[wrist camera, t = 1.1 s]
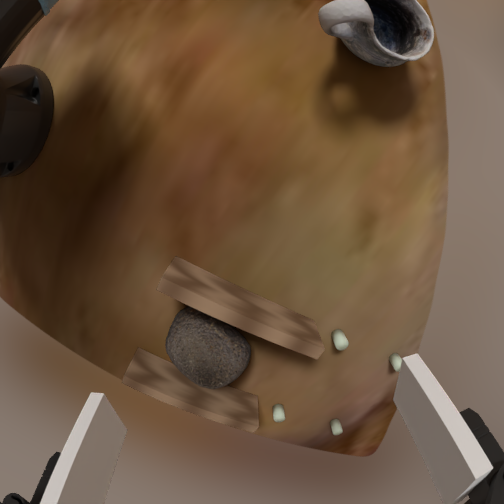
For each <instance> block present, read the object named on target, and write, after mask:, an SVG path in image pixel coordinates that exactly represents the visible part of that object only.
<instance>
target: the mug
mask: <svg viewBox="0 0 504 504" xmlns="http://www.w3.org/2000/svg"><path fill="white" fill-rule="evenodd" d="M318 15H319V21H320V24H321V27H322V29H323V30H324V31H325V33H327V34H328V35H331V36H335V37H338V38H341V40H342V42H343V43H344V44H345V45H346V46H347V48H348V49H349V50H350V51H351V52H352V53H353V54H355V55H356V56H357V57H359V58H361V59H362V60H364V61H367V62H368V63H371V64H374V65H377V66H383V67H392V66H398V65H401V64H403V63H405V62H406V61H415V60H418V59H419V58H421V57H423V56H424V55H425V54H427V53H428V52H429V51H430V49H431V46H432V43H433V40H434V29H433V26H432V25H431V21H430V19H429V17H428V15H427V13H426V12H425V10H424V9H423V8H422V6H421V5H420V4H419V3H418V2H417V1H416V0H336V1H332V2H330V3H328V4H326V5H325V6H323V7H322V8H321V9H320V10H319V14H318Z"/></svg>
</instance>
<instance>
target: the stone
mask: <svg viewBox="0 0 504 504" xmlns="http://www.w3.org/2000/svg"><path fill="white" fill-rule="evenodd" d="M166 351H167V354H168V355H169V357H170V359H171V361H172V362H173V364H174V365H175V366H176V367H177V369H178V370H179V371H180V372H181V373H182V374H183V375H185V376H186V377H187V378H188V379H189V380H191V381H192V382H194V383H195V384H197V385H199V386H200V387H204V388H209V389H217V388H221V387H224V386H226V385H228V384H230V383H231V382H233V381H234V380H236V379H237V378H238V377H239V376H240V375H241V374H242V373H243V371H244V370H245V369H246V367H247V365H248V363H249V359H250V355H251V348H250V345H249V344H248V342H247V341H246V339H245V338H244V337H243V336H242V335H241V334H240V333H239V332H238V331H237V330H236V329H235V328H234V327H233V326H231V325H230V324H228V323H226V322H223V321H221V320H219V319H217V318H214V317H212V316H210V315H208V314H206V313H203V312H201V311H199V310H197V309H195V308H193V307H190V306H189V307H186V308H184V309H183V310H181V311H180V312H179V313H178V314H177V315H176V317H175V318H174V321H173V323H172V325H171V327H170V329H169V332H168V336H167V338H166Z"/></svg>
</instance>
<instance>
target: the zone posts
mask: <svg viewBox="0 0 504 504" xmlns="http://www.w3.org/2000/svg"><path fill="white" fill-rule="evenodd" d="M331 337H332V339H333V341H334V344H335V346H336V348H337V349H338V350H344V349H346V348H347V347H348V341H347V339H346V337H345V335H344V333H343V331H342V330H340V329H337V330H334V331H333V332H332V334H331ZM389 361H390V362H391V364H392V366H393V367H394V369H395V370H396V371H397V372H398V371H400V367H401V362H402V359H401V357H400V356H399V354H398V353H394V354H392V355H391V356H390V357H389ZM273 416H274V421H276V422H282V421H284V420H285V415H284V408H283V405H281V404H276V405H274V406H273ZM330 425H331V428H332V432H333V435H339V434H341V433H342V432H343V431H342V427H341V424H340V421H339V419H334V420H332V421H331V422H330Z"/></svg>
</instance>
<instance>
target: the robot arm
mask: <svg viewBox="0 0 504 504" xmlns="http://www.w3.org/2000/svg"><path fill="white" fill-rule="evenodd" d="M57 1H58V0H0V177H8V176H13V175H17V174H19V173H21V172H23V171H24V170H25V169H27V168H28V167H29V166H30V165H31V164H32V163H33V161H34V160H35V159H36V157H37V156H38V154H39V153H40V151H41V149H42V147H43V145H44V143H45V141H46V138H47V135H48V132H49V129H50V125H51V120H52V114H53V92H52V87H51V84H50V81H49V79H48V77H47V76H46V75H45V73H44V72H43V71H41V70H40V69H38V68H35V67H32V66H29V65H21V64H20V65H14V66H9V67H4V68H2V66H3V65H4V63H5V62H6V61H7V59H8V58H9V56H10V55H11V54H12V52H13V51H14V50H15V49H16V47H17V46H18V45H19V44H20V42H21V41H22V40H23V39H24V37H25V36H26V35H27V34H28V33H29V32H30V31H31V29H32V28H33V27H34V26H35V25H36V24H37V23H38V22H39V21H40V20H41V19H42V18H43V17H44V16H46V15H47V14H48V13H49V12H50V9H51V8H52V7H53V6H54V5H55V4H56V2H57ZM393 400H394V402H395V404H396V406H397V408H398V410H399V412H400V414H401V416H402V418H403V420H404V422H405V424H406V426H407V428H408V430H409V431H410V434H411V436H412V438H413V440H414V442H415V444H416V446H417V448H418V450H419V452H420V454H421V456H422V458H423V460H424V463H425V465H426V467H427V469H428V471H429V473H430V475H431V477H432V480H433V482H434V484H435V487H436V489H437V491H438V493H439V496H440V498H441V500H442V502H443V504H456V503H458V502H460V501H462V500H463V499H464V498H465V497H466V496H467V495H468V496H469V498H470V499H469V500H468V501H467V502H466V503H465V504H504V452H503V451H502V449H501V447H500V446H499V444H498V442H497V441H496V439H495V438H494V436H493V435H492V434H491V432H489V429H488V427H487V426H486V425H485V423H484V422H483V420H482V419H481V417H480V416H479V415H478V414H477V413H476V412H474V411H473V410H471V409H470V408H468V409H466V410H464V411H462V412H460V413H459V412H458V410H457V409H456V407H455V406H454V405H453V403H452V402H451V400H450V398H449V397H448V396H447V394H446V393H445V391H444V390H443V389H442V387H441V386H440V384H439V383H438V381H437V380H436V378H435V377H434V376H433V374H432V373H431V372H430V370H429V369H428V367H427V366H426V365H425V363H424V362H423V361H422V359H421V358H420V356H419V355H418V354H414V355H410V356H407V357H404V358H402V362H401V367H400V372H399V377H398V381H397V386H396V390H395V394H394V398H393ZM126 433H127V428H126V427H125V426H124V424H123V423H122V421H121V420H120V418H119V417H118V415H117V413H116V412H115V410H114V409H113V407H112V406H111V404H110V402H109V401H108V399H107V397H106V396H105V394H104V393H91V394H90V396H89V398H88V400H87V401H86V403H85V405H84V407H83V409H82V411H81V413H80V415H79V417H78V419H77V421H76V423H75V425H74V428H73V429H72V431H71V434H70V436H69V438H68V440H67V442H66V444H65V446H64V449H63V451H62V453H59V452H56V453H55V454H54V455H53V456H52V457H51V458H50V459H49V461H48V463H47V466H46V470H44V473H43V474H42V475H43V477H41V479H40V482H39V484H38V486H37V488H36V491H35V494H34V495H33V498H32V500H31V502H30V503H29V502H27V500H25V499H24V498H23V497H21V496H20V495H19V494H16V493H10V494H9V495H7V496H6V497H5V498H4V500H3V503H1V502H0V504H104V503H105V500H106V496H107V492H108V489H109V486H110V483H111V479H112V476H113V473H114V470H115V466H116V463H117V460H118V457H119V454H120V451H121V447H122V444H123V441H124V439H125V435H126Z"/></svg>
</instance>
